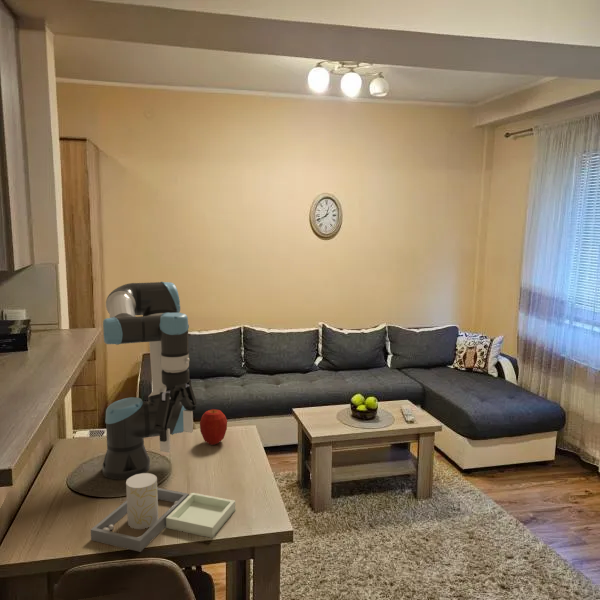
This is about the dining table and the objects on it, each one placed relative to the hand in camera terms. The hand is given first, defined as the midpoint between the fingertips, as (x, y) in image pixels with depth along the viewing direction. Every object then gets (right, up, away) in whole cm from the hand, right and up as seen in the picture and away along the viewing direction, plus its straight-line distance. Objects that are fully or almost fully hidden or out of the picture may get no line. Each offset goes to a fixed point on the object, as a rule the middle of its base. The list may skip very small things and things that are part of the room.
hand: (177, 441), depth 147 cm
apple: (+3, -14, +47) cm, 49 cm away
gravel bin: (-9, -21, -3) cm, 23 cm away
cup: (-9, -21, -3) cm, 23 cm away
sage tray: (+7, -21, -2) cm, 23 cm away
